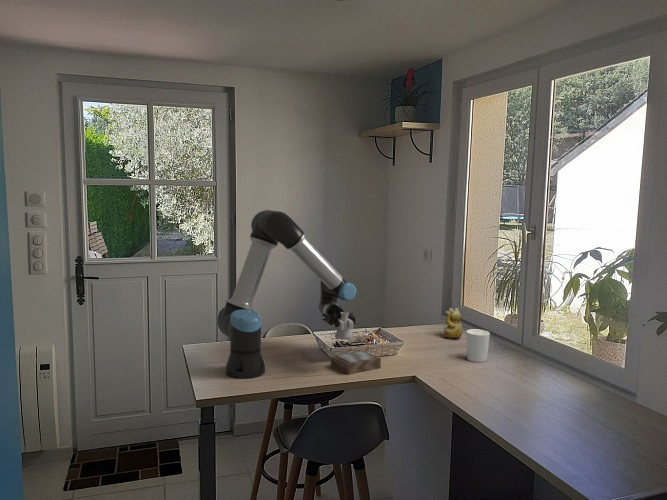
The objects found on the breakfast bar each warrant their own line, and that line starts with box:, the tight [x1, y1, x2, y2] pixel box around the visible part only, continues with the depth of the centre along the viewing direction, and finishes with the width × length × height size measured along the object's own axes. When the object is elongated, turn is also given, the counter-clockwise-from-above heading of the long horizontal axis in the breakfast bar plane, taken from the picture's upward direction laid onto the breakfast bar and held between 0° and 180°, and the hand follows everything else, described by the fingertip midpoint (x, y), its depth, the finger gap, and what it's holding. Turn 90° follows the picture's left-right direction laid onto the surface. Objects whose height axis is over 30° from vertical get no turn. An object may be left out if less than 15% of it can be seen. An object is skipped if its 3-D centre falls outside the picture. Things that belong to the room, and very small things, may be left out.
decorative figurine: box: [443, 307, 463, 340], centre depth 267 cm, size 10×8×15 cm
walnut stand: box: [330, 350, 382, 375], centre depth 219 cm, size 16×12×4 cm
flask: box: [334, 311, 354, 340], centre depth 214 cm, size 7×7×10 cm
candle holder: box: [466, 328, 491, 363], centre depth 233 cm, size 10×10×12 cm
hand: (347, 326), depth 209 cm, fingers closed on flask, 3 cm apart
